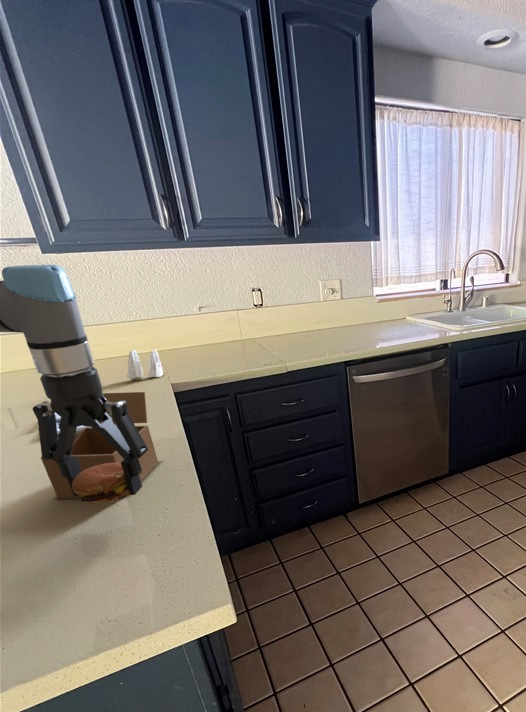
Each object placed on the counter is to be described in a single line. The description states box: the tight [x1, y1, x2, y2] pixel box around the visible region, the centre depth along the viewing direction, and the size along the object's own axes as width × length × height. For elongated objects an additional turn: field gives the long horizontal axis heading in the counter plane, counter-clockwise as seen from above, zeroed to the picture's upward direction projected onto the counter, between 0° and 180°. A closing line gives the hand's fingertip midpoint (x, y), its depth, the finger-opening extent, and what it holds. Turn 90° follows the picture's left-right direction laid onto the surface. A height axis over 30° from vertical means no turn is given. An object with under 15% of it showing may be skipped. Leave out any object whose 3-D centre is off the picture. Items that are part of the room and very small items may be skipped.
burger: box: [72, 463, 131, 504], centre depth 76 cm, size 10×9×5 cm
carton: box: [40, 425, 159, 499], centre depth 91 cm, size 14×14×10 cm
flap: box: [99, 391, 148, 424], centre depth 95 cm, size 14×7×1 cm
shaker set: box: [126, 349, 164, 381], centre depth 157 cm, size 12×4×11 cm, turn 123°
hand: (108, 491), depth 77 cm, fingers closed on burger, 9 cm apart
